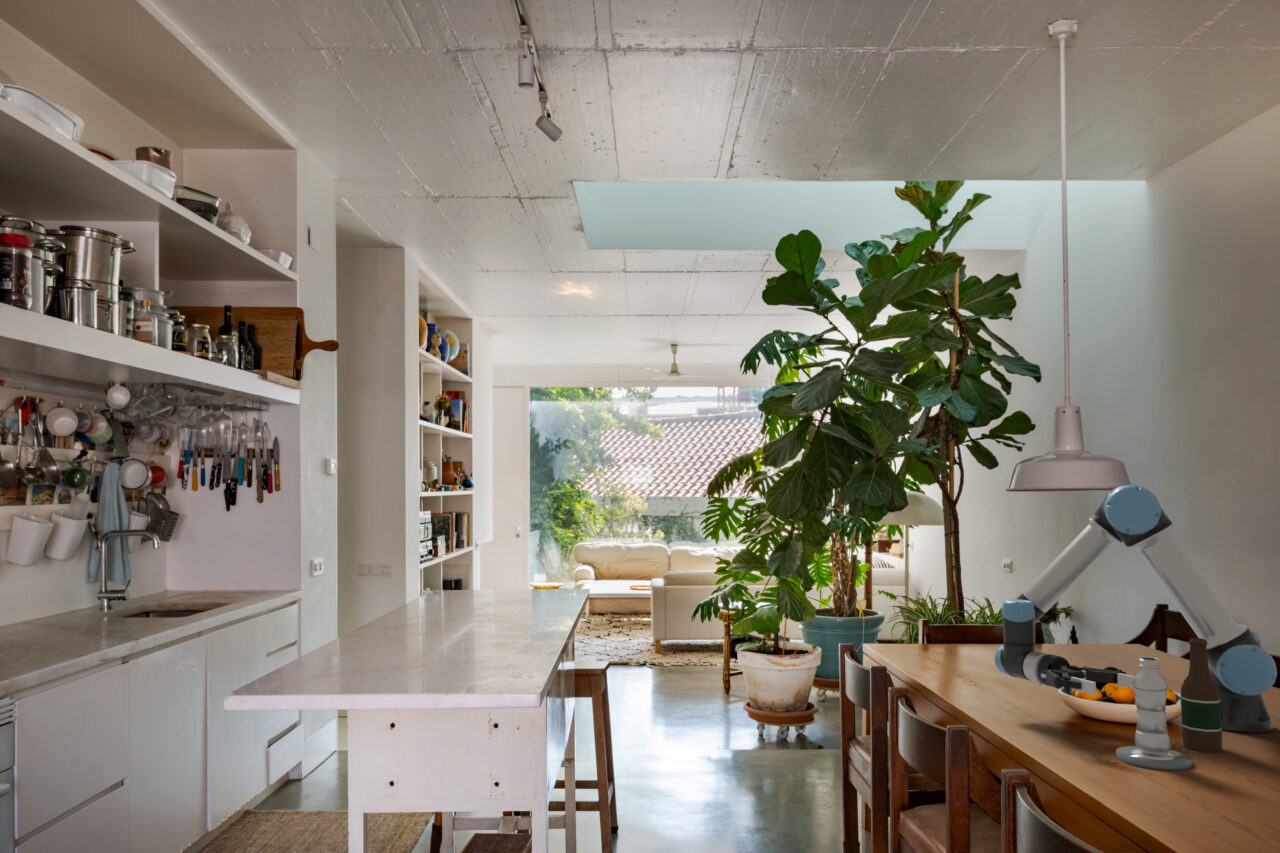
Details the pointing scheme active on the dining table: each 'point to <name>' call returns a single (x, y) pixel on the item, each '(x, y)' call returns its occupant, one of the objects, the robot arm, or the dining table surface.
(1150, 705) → the plastic bottle
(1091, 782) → the dining table surface
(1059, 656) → the robot arm
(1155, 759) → the coaster
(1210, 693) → the beer bottle
